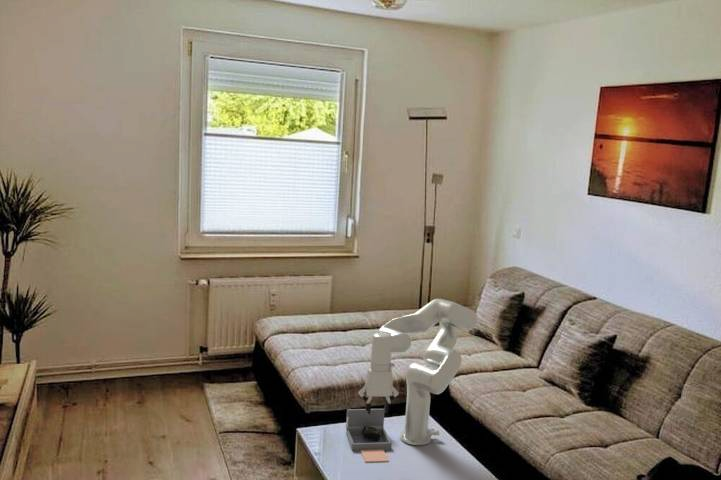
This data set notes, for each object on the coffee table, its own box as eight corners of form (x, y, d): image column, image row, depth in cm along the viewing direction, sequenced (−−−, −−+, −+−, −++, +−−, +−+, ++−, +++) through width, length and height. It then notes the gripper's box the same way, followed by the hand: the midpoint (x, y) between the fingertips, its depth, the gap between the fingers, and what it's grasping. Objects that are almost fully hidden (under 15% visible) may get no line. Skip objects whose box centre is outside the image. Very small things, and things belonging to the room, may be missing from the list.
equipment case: (382, 432, 253) (384, 408, 252) (391, 449, 239) (392, 423, 238) (345, 433, 250) (347, 409, 249) (352, 450, 236) (353, 424, 235)
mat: (383, 450, 238) (383, 449, 238) (388, 461, 229) (388, 460, 229) (360, 451, 236) (360, 450, 236) (365, 462, 227) (365, 461, 227)
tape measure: (362, 439, 242) (365, 431, 242) (359, 432, 249) (362, 423, 249) (378, 444, 244) (381, 435, 243) (375, 436, 250) (378, 427, 250)
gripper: (400, 363, 233) (396, 408, 236) (356, 363, 230) (353, 408, 232) (405, 369, 226) (401, 416, 228) (359, 369, 223) (356, 416, 225)
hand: (377, 411), depth 230 cm, fingers open, 6 cm apart
